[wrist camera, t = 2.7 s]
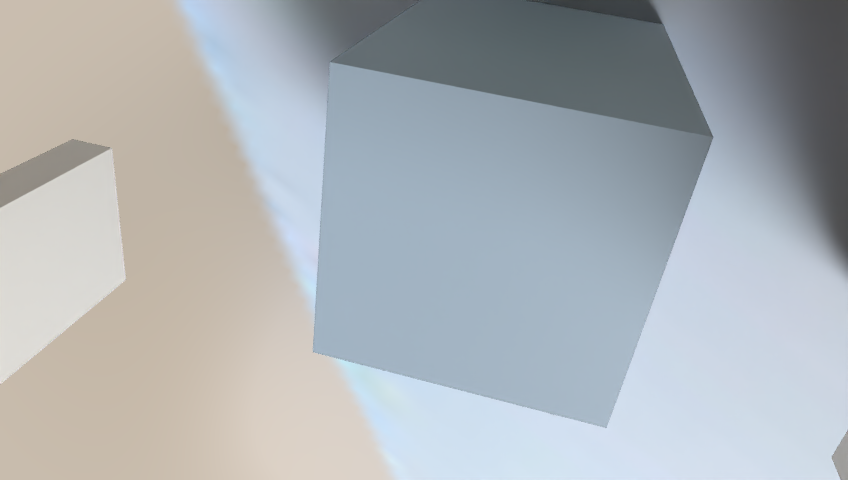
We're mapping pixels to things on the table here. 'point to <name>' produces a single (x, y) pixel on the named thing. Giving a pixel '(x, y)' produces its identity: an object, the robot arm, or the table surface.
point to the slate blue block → (503, 198)
